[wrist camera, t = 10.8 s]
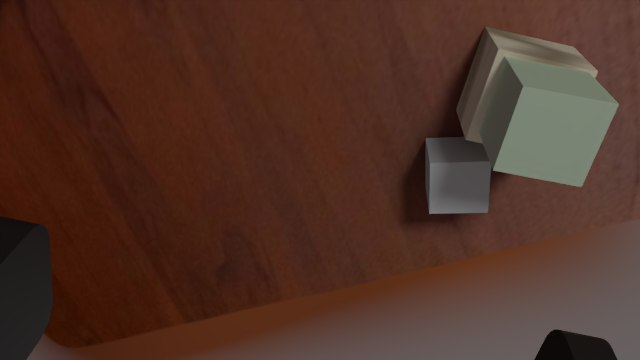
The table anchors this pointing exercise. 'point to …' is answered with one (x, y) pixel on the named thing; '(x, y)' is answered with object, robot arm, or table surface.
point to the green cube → (545, 121)
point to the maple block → (489, 64)
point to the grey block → (456, 176)
